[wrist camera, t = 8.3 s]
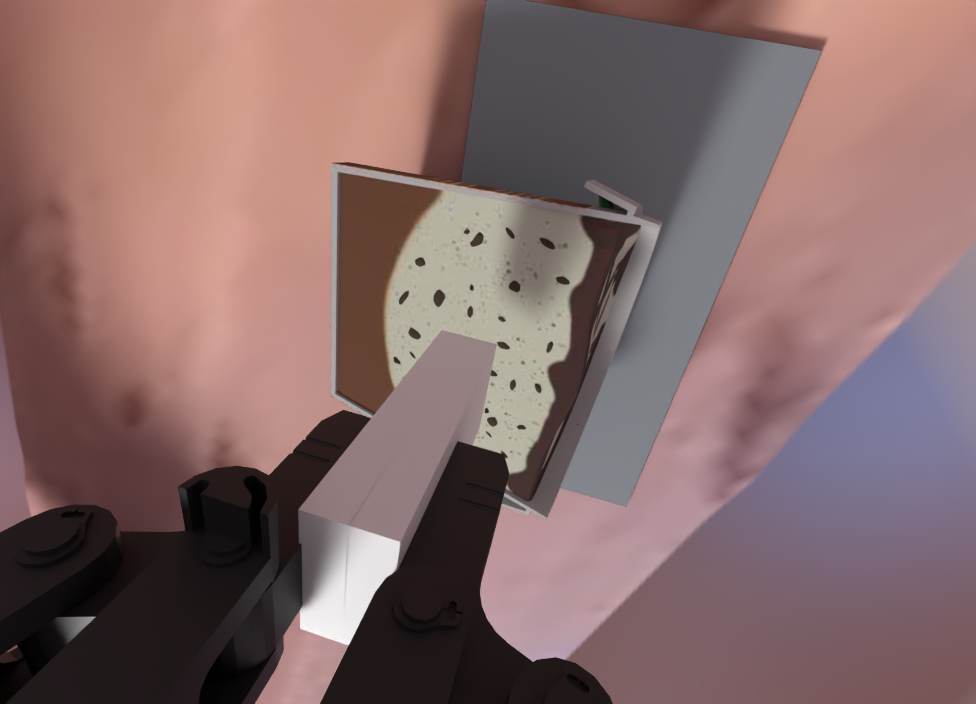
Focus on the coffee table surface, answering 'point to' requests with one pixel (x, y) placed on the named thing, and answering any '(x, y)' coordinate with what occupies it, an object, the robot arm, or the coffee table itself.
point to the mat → (635, 176)
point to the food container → (486, 303)
